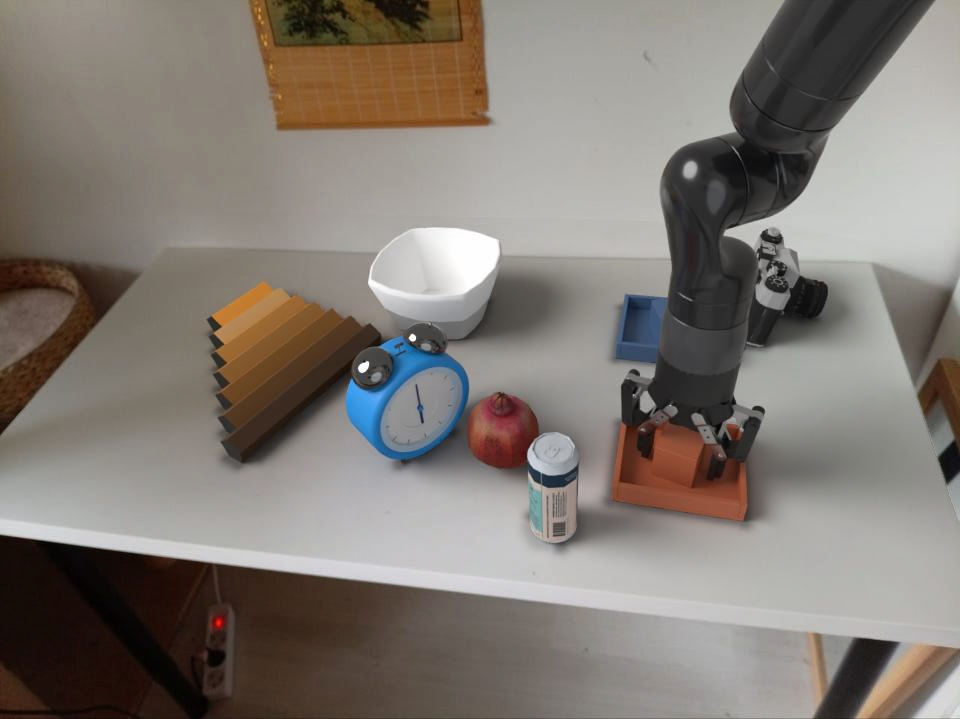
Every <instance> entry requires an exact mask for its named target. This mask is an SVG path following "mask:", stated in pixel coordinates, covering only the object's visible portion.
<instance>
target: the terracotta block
mask: <svg viewBox="0 0 960 719" xmlns="http://www.w3.org/2000/svg"><path fill="white" fill-rule="evenodd" d="M705 448H706V444H705V442H704V440H703V438H702V436H701V434H700V432H699V433H698V432H695V431H692V430H690V429H688V428H686V427H684V426H676V425H673V424H670V423H669V421H667V423H666V425H665V427H664V429H663V431H662V433H661V435H660V437H659V439H658V442H657V444H656V446H655V449H654V456H653V463H652V470H651V474H652V475H655V476H658V477H660V478H663V479H666V480H669V481H672V482H675V483H678V484H680V485H683V486H686V487H689V488H692V486H693V483H694V481H695V478H696V476H697V473H698V471H699V468H700V466H701V463H702V461H703V457H704V453H705Z"/></svg>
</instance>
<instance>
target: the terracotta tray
mask: <svg viewBox="0 0 960 719" xmlns="http://www.w3.org/2000/svg"><path fill="white" fill-rule="evenodd" d="M667 421H668V420H667ZM667 421H666V422H665V423H663V424H662V425H661V426H660V427H658V428H657V429H656V431H655V438H654V445H653V448H652V450H651V452H650V455H649V457H648V458H644V457H641V452H640V451H638V450H637V439H638V431H637V428H636V427H635V426H633V425H631V426H627V425H625V424H623V422H622V421H621V424H620V431H619V436H618V438H619V439H618V444H617V451H616V459H615V465H614V466H615V467H614V472H613V480H612V488H611V501H614V502H621V503H627V504H633V505H639V506H645V507H651V508H657V509H662V510H663V509H664V510H670V511H676V512H682V513H689V514H694V515H701V516H708V517H713V518H721V519H727V520H733V521H739V522H744V520H745V516H746V513H747V510H748V507H749V506H748V487H747V486H748V485H747V484H748V483H747V460H746V461H745V462H744V463H738V462H736V461H735V460H734V459H732V458H730V459H727V462H726V466H725V469H724V472H723V474H722V477H720V478H719V479H718V478H714V480H713V481H710V480H707V479H706V478H707V474H708V469H709V465H710V460H711V457H712V454H713V453H712V451H711V448H710V446H709V445H706V448H705V453H704V457H703V461H702V463H701V466H700V468H699V471H698V473H697V476H696V478H695V481H694V483H693V486H692V488H689V487H686V486H683V485H680V484H678V483H675V482H672V481H669V480H666V479H663V478H660V477H658V476H655V475H652V474H651V470H652V463H653V456H654V449H655V446H656V444H657V442H658V439H659V437H660V435H661V433H662V431H663V429H664V427H665V425H666V423H667ZM726 423H727V422H726ZM727 430H728V433H729V435H730V437H731V439H732V440H736V441H739V440H740V437H741V435H742V432H740V431H739V427H738V426H737V423H736V424H734V423H727Z"/></svg>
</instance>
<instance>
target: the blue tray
mask: <svg viewBox="0 0 960 719" xmlns="http://www.w3.org/2000/svg"><path fill="white" fill-rule="evenodd" d="M667 298H668V296H667V297H664V296H656V295H642V294H632V293H631V294H630V293H625V294H624V298H623V304H622V310H621V314H620V321H619V328H618V334H617V339H616V348H615V359H618V360H627V361H637V362H647V363H654V364H656V360H657V352H658V345H657V343H656V341H655V339H654V336H653V334H652V332H651V330H650V328H649V319H650V310H651V302H652V300H658V299H667Z"/></svg>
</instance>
